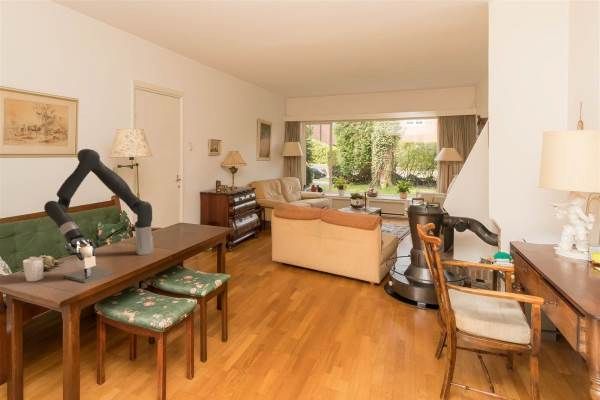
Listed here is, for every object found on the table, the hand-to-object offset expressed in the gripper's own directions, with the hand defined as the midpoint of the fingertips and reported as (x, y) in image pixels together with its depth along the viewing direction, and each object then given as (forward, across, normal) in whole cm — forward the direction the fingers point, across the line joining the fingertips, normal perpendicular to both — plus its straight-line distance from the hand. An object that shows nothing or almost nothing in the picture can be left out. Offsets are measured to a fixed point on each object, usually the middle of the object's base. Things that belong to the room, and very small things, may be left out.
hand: (88, 257), depth 170 cm
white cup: (-7, -14, +22) cm, 27 cm away
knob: (+2, 0, +5) cm, 5 cm away
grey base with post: (+6, 0, +8) cm, 10 cm away
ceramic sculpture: (-16, -2, +30) cm, 34 cm away
